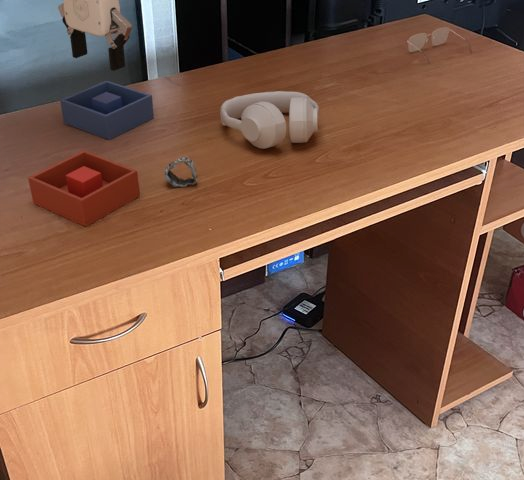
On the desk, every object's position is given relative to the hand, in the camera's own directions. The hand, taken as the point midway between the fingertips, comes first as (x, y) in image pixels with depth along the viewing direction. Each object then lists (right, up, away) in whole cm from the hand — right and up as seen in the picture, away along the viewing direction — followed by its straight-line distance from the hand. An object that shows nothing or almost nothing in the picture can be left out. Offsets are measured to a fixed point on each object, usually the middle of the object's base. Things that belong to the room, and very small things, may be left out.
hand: (98, 62), depth 144 cm
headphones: (+32, -12, +4) cm, 34 cm away
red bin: (+1, -28, -16) cm, 32 cm away
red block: (+1, -28, -16) cm, 32 cm away
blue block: (0, -8, +7) cm, 11 cm away
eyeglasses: (+71, +15, +37) cm, 81 cm away
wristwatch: (+16, -25, -12) cm, 32 cm away
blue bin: (0, -9, +8) cm, 11 cm away
